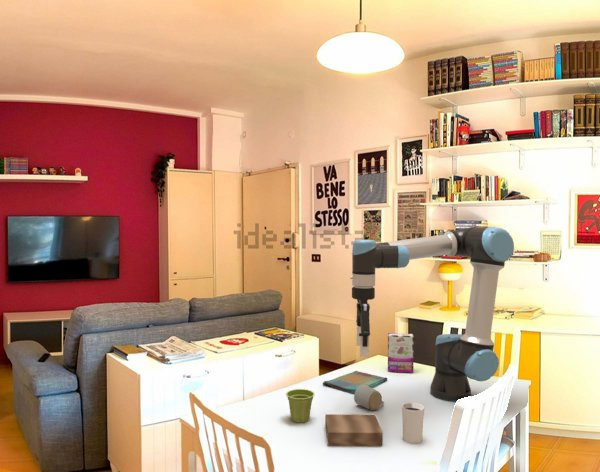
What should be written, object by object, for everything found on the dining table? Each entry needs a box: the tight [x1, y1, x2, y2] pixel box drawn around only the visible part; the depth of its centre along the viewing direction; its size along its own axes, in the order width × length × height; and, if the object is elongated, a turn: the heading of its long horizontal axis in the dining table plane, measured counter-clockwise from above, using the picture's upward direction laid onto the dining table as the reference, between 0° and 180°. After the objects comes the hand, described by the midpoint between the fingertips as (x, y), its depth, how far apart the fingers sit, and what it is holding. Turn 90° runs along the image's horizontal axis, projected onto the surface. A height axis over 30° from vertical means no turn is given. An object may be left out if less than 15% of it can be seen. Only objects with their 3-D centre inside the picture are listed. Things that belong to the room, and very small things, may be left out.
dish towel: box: [322, 370, 388, 396], centre depth 210 cm, size 17×23×2 cm
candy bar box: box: [387, 332, 415, 374], centre depth 227 cm, size 11×5×16 cm, turn 80°
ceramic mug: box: [353, 384, 385, 411], centre depth 184 cm, size 10×8×7 cm
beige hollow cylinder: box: [401, 402, 425, 444], centre depth 157 cm, size 7×7×10 cm
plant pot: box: [285, 388, 315, 423], centre depth 171 cm, size 9×9×9 cm
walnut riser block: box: [324, 413, 384, 447], centre depth 159 cm, size 16×14×4 cm
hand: (362, 350), depth 170 cm, fingers open, 13 cm apart
